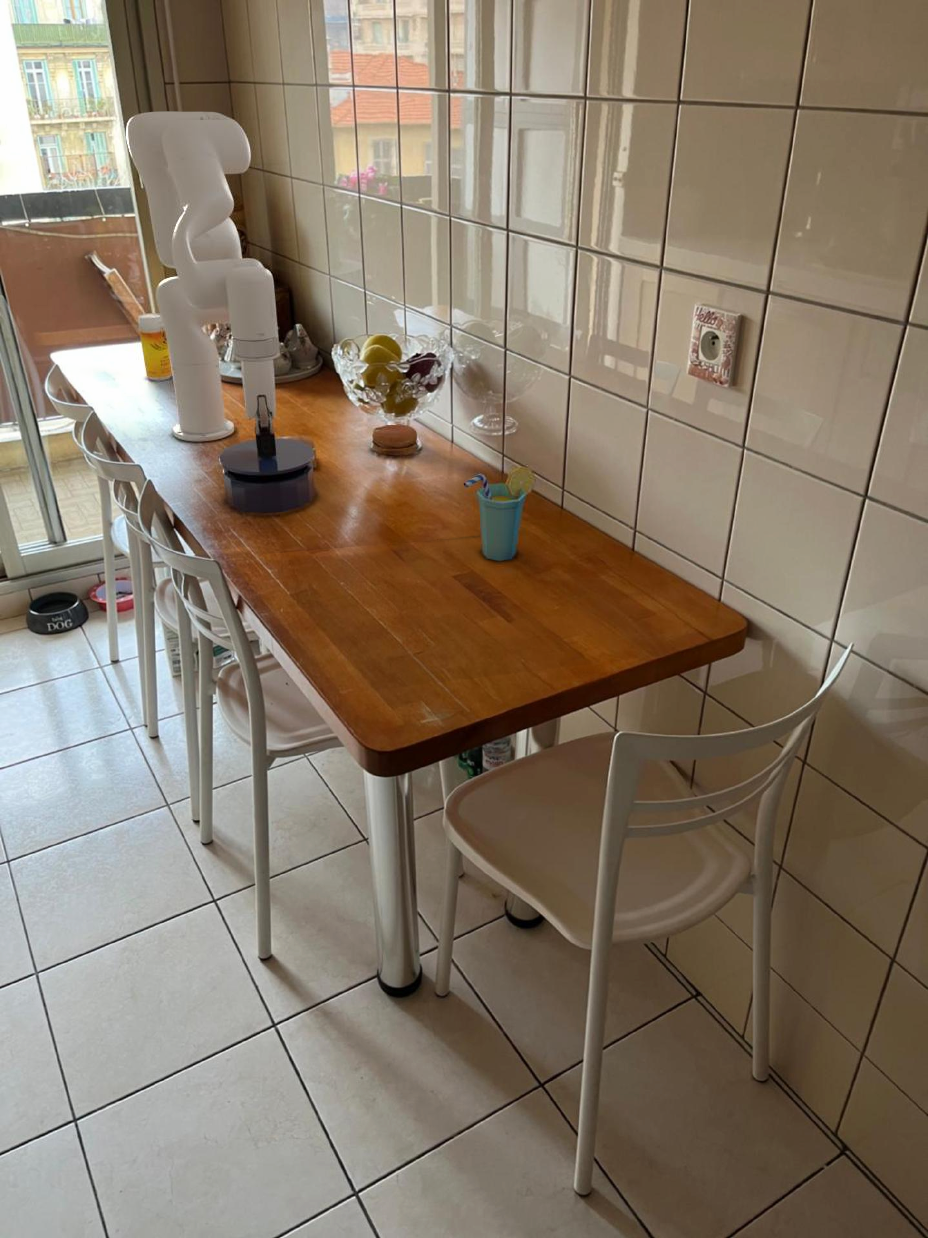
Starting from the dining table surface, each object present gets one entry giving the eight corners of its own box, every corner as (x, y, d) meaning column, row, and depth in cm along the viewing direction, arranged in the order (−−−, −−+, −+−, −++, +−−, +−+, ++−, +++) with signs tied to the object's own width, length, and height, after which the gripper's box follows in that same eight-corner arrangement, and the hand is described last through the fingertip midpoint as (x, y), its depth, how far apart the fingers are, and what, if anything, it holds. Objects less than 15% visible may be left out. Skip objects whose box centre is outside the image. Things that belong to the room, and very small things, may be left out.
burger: (423, 455, 186) (423, 433, 184) (379, 460, 183) (378, 438, 181) (410, 439, 194) (409, 418, 192) (367, 444, 191) (366, 422, 189)
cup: (480, 577, 142) (483, 486, 134) (446, 559, 147) (447, 471, 139) (542, 550, 150) (548, 463, 142) (508, 534, 155) (512, 450, 147)
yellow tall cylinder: (168, 381, 227) (159, 318, 219) (143, 380, 227) (133, 318, 219) (175, 374, 232) (166, 312, 224) (151, 373, 232) (141, 312, 224)
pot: (226, 484, 171) (222, 454, 168) (310, 478, 175) (308, 448, 171) (227, 519, 158) (223, 486, 155) (318, 512, 162) (316, 480, 158)
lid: (219, 447, 168) (214, 410, 164) (310, 441, 171) (307, 405, 168) (219, 481, 154) (214, 441, 151) (319, 474, 158) (316, 435, 154)
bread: (271, 473, 177) (268, 443, 174) (270, 462, 181) (267, 433, 178) (317, 469, 178) (315, 440, 175) (315, 459, 183) (313, 430, 180)
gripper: (232, 335, 159) (243, 437, 168) (234, 360, 145) (246, 470, 154) (276, 333, 160) (285, 435, 170) (282, 358, 146) (291, 467, 156)
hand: (266, 451), depth 162 cm, fingers closed on lid, 3 cm apart
